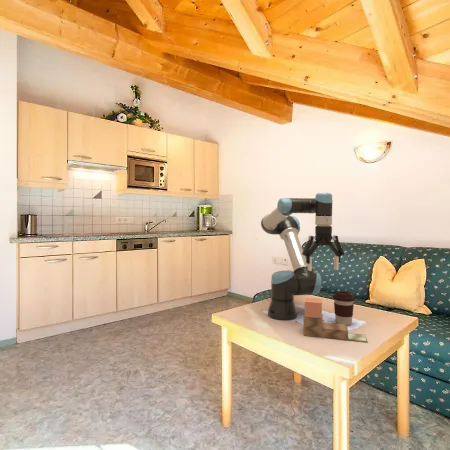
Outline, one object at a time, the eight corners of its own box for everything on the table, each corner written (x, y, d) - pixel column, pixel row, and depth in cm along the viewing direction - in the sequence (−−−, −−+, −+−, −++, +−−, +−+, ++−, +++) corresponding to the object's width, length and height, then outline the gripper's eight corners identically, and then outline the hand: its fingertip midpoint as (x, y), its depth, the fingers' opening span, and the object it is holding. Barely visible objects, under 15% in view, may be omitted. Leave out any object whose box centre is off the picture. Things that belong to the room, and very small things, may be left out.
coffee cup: (352, 320, 148) (352, 290, 148) (356, 327, 138) (356, 295, 138) (331, 319, 150) (331, 289, 150) (334, 325, 141) (334, 294, 140)
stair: (303, 335, 129) (303, 317, 129) (304, 329, 136) (304, 312, 136) (367, 342, 121) (367, 323, 121) (364, 335, 129) (364, 317, 129)
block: (304, 317, 129) (304, 301, 129) (305, 312, 136) (305, 297, 136) (321, 319, 127) (321, 303, 127) (321, 314, 134) (321, 299, 133)
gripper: (302, 226, 134) (301, 272, 135) (352, 225, 138) (351, 270, 139) (295, 225, 141) (295, 269, 142) (343, 225, 145) (342, 267, 146)
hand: (323, 270), depth 140 cm, fingers open, 13 cm apart
